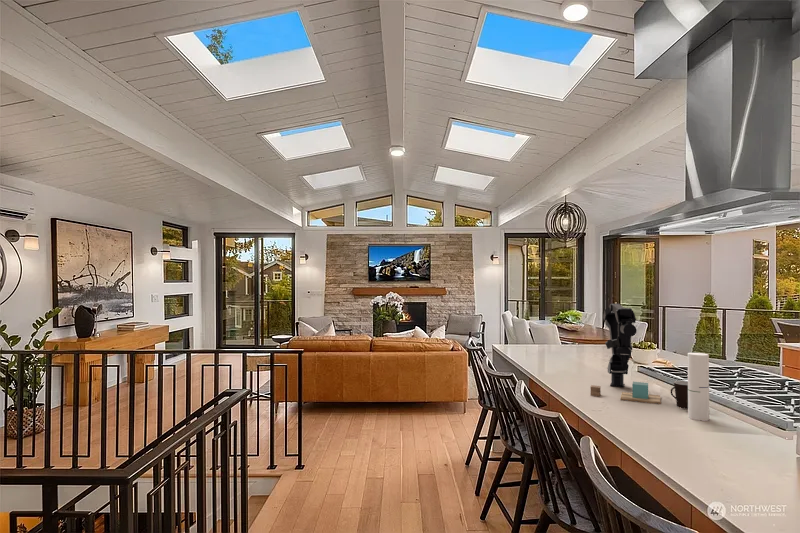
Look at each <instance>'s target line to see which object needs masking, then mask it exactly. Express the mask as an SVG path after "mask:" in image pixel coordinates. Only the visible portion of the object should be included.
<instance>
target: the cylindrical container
mask: <svg viewBox="0 0 800 533" xmlns="http://www.w3.org/2000/svg"><path fill="white" fill-rule="evenodd" d="M709 358H710V356H709V353H704V352H687V382H688V409H687V418H688V419H690V420H695V421H700V420H702V422H703V421H705V422H707V421H709V420H710V369H709V368H710V363H709V362H710V361H709V360H710V359H709Z"/></svg>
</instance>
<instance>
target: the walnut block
mask: <svg viewBox="0 0 800 533" xmlns="http://www.w3.org/2000/svg"><path fill="white" fill-rule="evenodd" d="M601 392H602V391H601V385H594V384H593V385H592V384H591V385H590V396H595V397H600V396H601Z"/></svg>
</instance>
